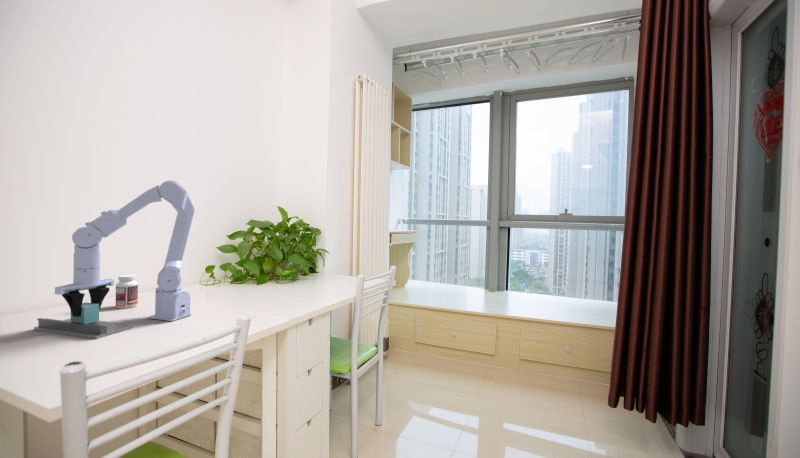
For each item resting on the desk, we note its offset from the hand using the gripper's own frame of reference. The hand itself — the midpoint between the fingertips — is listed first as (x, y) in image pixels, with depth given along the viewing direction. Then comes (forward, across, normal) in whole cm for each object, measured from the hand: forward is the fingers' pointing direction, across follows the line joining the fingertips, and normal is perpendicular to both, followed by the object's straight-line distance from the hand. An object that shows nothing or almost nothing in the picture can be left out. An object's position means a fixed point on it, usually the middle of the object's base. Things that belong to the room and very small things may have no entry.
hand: (86, 314), depth 101 cm
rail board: (+3, +2, +3) cm, 5 cm away
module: (+2, 0, 0) cm, 2 cm away
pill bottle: (+4, -20, -9) cm, 22 cm away
